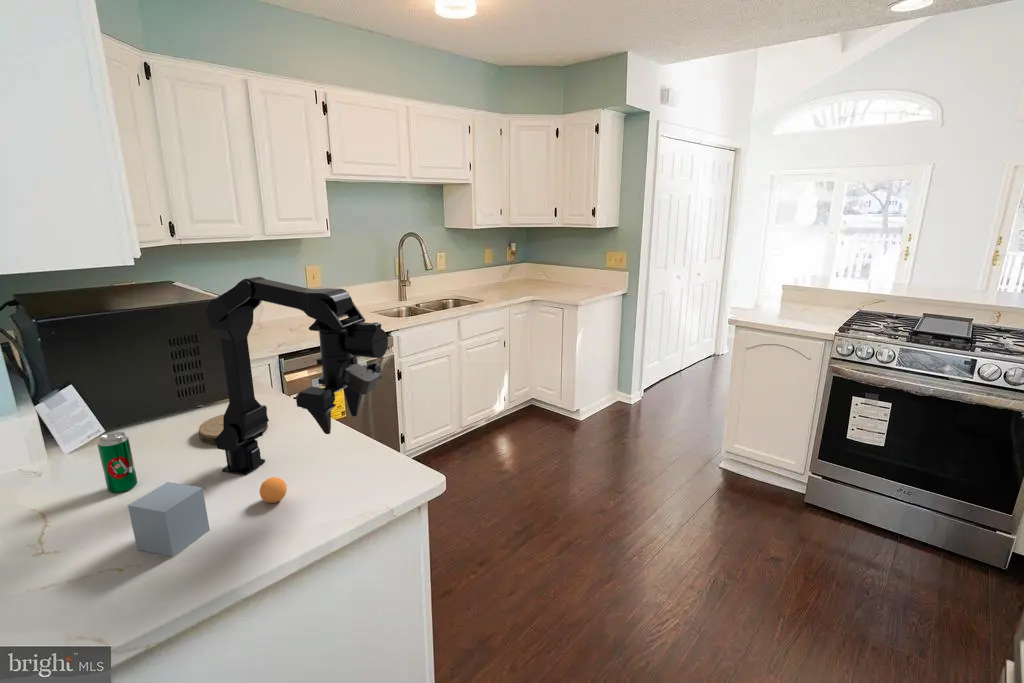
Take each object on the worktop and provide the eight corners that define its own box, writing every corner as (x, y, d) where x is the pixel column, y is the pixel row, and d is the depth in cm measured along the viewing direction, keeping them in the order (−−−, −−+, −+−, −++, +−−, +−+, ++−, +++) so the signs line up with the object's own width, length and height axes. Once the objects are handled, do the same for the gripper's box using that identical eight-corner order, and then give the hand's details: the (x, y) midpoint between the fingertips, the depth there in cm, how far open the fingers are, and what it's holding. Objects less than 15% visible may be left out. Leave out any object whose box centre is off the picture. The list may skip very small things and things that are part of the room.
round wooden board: (263, 416, 143) (262, 406, 142) (272, 437, 130) (271, 426, 129) (198, 428, 134) (197, 418, 134) (201, 452, 122) (199, 441, 121)
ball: (255, 505, 100) (252, 483, 98) (272, 492, 104) (269, 471, 103) (277, 509, 99) (274, 487, 97) (293, 495, 103) (290, 474, 102)
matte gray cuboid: (137, 549, 87) (127, 505, 84) (175, 523, 94) (167, 481, 92) (173, 557, 85) (164, 512, 83) (209, 529, 92) (202, 487, 90)
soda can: (118, 482, 108) (107, 431, 105) (143, 481, 108) (133, 430, 105) (102, 495, 103) (90, 442, 100) (128, 494, 103) (116, 441, 100)
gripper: (342, 371, 89) (348, 450, 93) (395, 344, 106) (398, 412, 110) (290, 364, 92) (298, 441, 96) (350, 340, 109) (354, 406, 113)
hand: (341, 424), depth 104 cm, fingers open, 9 cm apart
